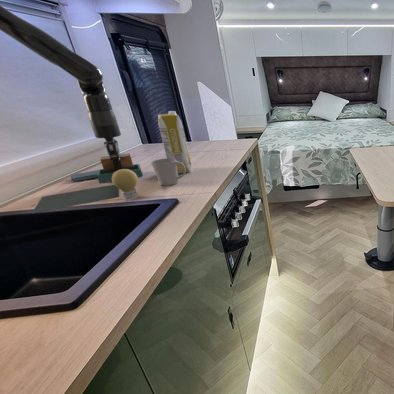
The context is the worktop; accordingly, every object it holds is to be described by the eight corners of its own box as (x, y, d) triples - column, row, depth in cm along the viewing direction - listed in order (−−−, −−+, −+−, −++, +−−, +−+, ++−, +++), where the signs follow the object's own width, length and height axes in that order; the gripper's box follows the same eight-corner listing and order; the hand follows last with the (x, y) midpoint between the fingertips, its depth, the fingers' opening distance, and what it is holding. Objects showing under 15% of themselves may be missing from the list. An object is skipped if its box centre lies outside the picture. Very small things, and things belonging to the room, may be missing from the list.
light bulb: (117, 200, 92) (106, 169, 88) (140, 194, 96) (131, 165, 93) (121, 205, 88) (111, 174, 84) (146, 199, 92) (137, 169, 89)
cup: (160, 181, 109) (154, 159, 105) (189, 178, 112) (184, 156, 108) (155, 188, 102) (148, 164, 99) (186, 184, 105) (181, 161, 102)
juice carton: (193, 172, 119) (180, 111, 110) (171, 175, 115) (155, 113, 106) (190, 167, 126) (177, 109, 117) (169, 170, 122) (154, 111, 113)
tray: (100, 184, 106) (96, 175, 105) (100, 178, 113) (97, 169, 111) (143, 177, 113) (140, 168, 112) (141, 172, 120) (139, 163, 119)
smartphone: (70, 174, 113) (117, 166, 122) (72, 178, 114) (119, 169, 123) (70, 179, 108) (119, 169, 117) (72, 183, 109) (121, 173, 117)
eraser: (104, 172, 107) (100, 159, 105) (105, 169, 111) (100, 156, 109) (134, 168, 112) (130, 155, 110) (133, 165, 116) (129, 153, 114)
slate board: (32, 215, 82) (31, 213, 82) (42, 198, 94) (42, 196, 94) (119, 198, 93) (119, 196, 93) (119, 185, 105) (118, 183, 105)
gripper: (92, 122, 108) (107, 166, 115) (89, 127, 98) (106, 175, 104) (117, 120, 112) (130, 163, 119) (117, 124, 102) (131, 171, 108)
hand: (119, 168), depth 112 cm, fingers closed on eraser, 5 cm apart
